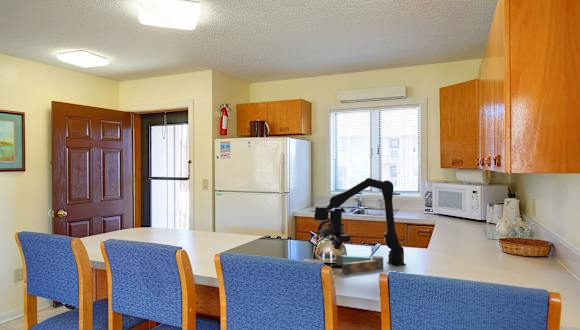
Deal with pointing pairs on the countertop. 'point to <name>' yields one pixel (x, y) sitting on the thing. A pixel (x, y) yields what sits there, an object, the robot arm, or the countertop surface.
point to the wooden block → (363, 265)
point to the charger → (314, 260)
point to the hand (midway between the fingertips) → (336, 253)
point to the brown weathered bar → (350, 259)
